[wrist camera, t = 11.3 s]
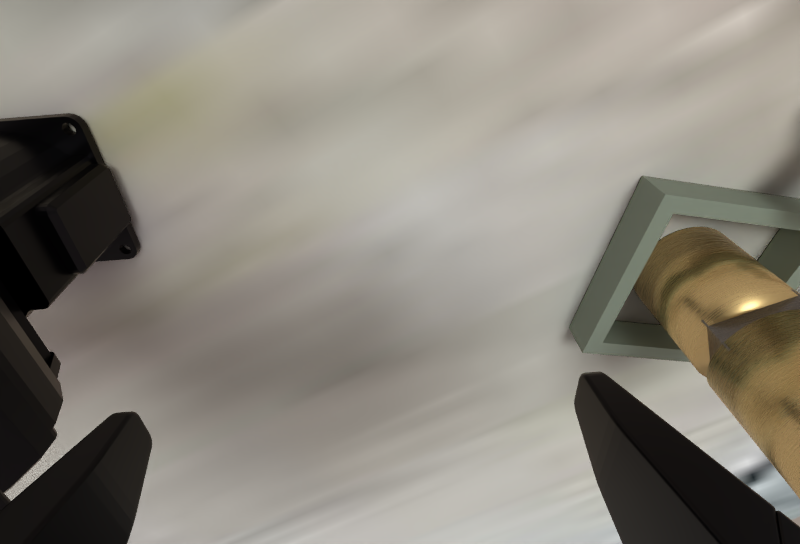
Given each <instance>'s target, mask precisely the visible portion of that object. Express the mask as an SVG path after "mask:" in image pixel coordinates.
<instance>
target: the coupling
mask: <svg viewBox="0 0 800 544" xmlns="http://www.w3.org/2000/svg"><path fill="white" fill-rule="evenodd" d="M633 287H634V290H635V292H636V294H637V295H638V297H639V298H640V299H641V300H642V302H643V303H644V304H645V305H646V307H647V308H648V309H649V310H650V312H651V313H652V314H653V315H654V317H655V318H656V319H657V320H658V322H659V323H660V324H661V325H662V327H663V328H664V329H665V330H666V332H667V333H668V334H669V335H670V337H671V338H672V339H673V340H674V342H675V343H676V344H677V345H678V347H679V348H680V349H681V350H682V352H683V353H684V354H685V355H686V357H687V358H688V359H689V360H690V362H691V363H692V364H693V365H694V367H695V368H696V369H697V370H698V372H699V373H701V374H702V375H703V376H705V377H707V381H708V383H709V385H710V387H711V388H712V389H713V391H714V392H715V393H716V394H717V396H718V397H719V398H720V399H721V401H722V402H723V403H724V404H725V406H726V407H727V408H728V409H729V411H730V412H731V413H732V414H733V416H734V417H735V418H736V419H737V421H738V422H739V423H740V424H741V426H742V427H743V428H744V429H745V431H746V432H747V433H748V434H749V436H750V437H751V438H752V439H753V441H754V442H755V443H756V444H757V446H758V447H759V448H760V449H761V451H762V452H763V453H764V454H765V456H766V457H767V458H768V459H769V461H770V462H771V463H772V464H773V466H774V467H775V468H776V469H777V471H778V472H779V473H780V474H781V476H782V477H783V478H784V479H785V481H786V482H787V483H788V484H789V486H790V487H791V488H792V489H793V491H794V492H795V493H796V495H797V496H798V497H799V498H800V294H799V293H798V292H797V291H795V290H794V289H793V288H791V287H790V286H789V285H788V284H786V283H785V282H784V281H782V280H781V279H780V278H779V277H777V276H776V275H775V274H773V273H772V272H771V271H770V270H768V269H767V268H766V267H764V266H763V265H762V264H761V263H759V262H758V261H757V260H755V259H754V258H753V257H752V256H750V255H749V254H748V253H746V252H745V251H744V250H743V249H741V248H740V247H739V246H738V245H736V244H735V243H734V242H732V241H731V240H730V239H729V238H727V237H726V236H725V235H723V234H722V233H721V232H719V231H717V230H715V229H712V228H708V227H691V228H686V229H682V230H679V231H676V232H674V233H672V234H669V235H668V236H666V237H664V238H662V239H661V240H659V241H658V242H657V244H656V246H655V248H654V250H653V252H652V253H651V255H650V257H649V259H648V261H647V263H646V264H645V266H644V268H643V270H642V272H641V274H640V275H639V277H638V279H637V281H636V283H635V284H634V286H633Z"/></svg>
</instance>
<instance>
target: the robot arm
mask: <svg viewBox="0 0 800 544" xmlns="http://www.w3.org/2000/svg"><path fill="white" fill-rule="evenodd" d="M67 123H70V124H72V125H73V126H74V127H75V129H76V132H73V131H71V130H70V129H69V128H68V125H67ZM130 221H131V217H130V215H129V213H128V211H127V208H126V206H125V204H124V202H123V199H122V197H121V195H120V192H119V190H118V188H117V186H116V183H115V181H114V179H113V177H112V174H111V172H110V170H109V168H108V167H107V166H105V165H104V162H103V160H102V158H101V156H100V153H99V151H98V149H97V147H96V144H95V142H94V140H93V138H92V135H91V133H90V131H89V129H88V126H87V124H86V123H85V121H84V120H83V119H82V118H80V117H79V116H77V115H75V114H69V113H68V114H55V115H42V116H30V117H17V118H5V119H0V544H127V542H128V539H129V536H130V533H131V530H132V527H133V524H134V520H135V516H136V513H137V508H138V504H139V500H140V496H141V491H142V487H143V483H144V478H145V474H146V470H147V465H148V461H149V457H150V453H151V448H152V439H151V436H150V434H149V432H148V430H147V428H146V427H145V425H144V423H143V422H142V420H141V418H140V417H139V415H138V414H137V413H135V412H132V411H131V412H120V413H114V414H112V415H111V416H109V417H108V418H107V419H106V420H104V421H103V422H102V423H101V424H100V425H99V426H97V427H96V428H95V429H94V430H93V431H92V432H91V433H89V434H88V435H87V436H86V437H85V438H84V439H83V440H81V441H80V442H79V443H78V444H77V445H76V446H74V447H73V448H72V449H71V450H70V451H69V452H68V453H66V454H65V455H64V456H63V457H62V458H61V459H59V460H58V461H57V462H56V463H55V464H54V465H53V466H51V467H50V468H49V469H48V470H47V471H46V472H44V473H43V474H42V475H41V476H40V477H39V478H38V479H36V480H35V481H34V482H33V483H32V484H31V485H29V486H28V487H27V488H26V489H25V490H24V491H23V492H21V493H20V494H19V495H18V496H17V497H16V498H14V499H13V500H12V501H11V500H10V499H9V498H8V497H7V496H6V495H5V494H4V493H5V492H7V491H8V490H9V489H11V488H12V487H13V486H14V485H15V484H16V483H17V482H18V481H19V480H20V479H21V478H22V477H23V476H24V475H25V474H26V473H27V472H28V471H29V470H30V469H31V468H32V467H33V466H34V465H35V464H36V463H37V462H38V461H39V460H40V459H41V458H42V456H43V455H44V453H45V452H46V451H47V449H48V448H49V447H50V445H51V444H52V443H53V441H54V440H55V439H56V436H57V432H56V430H55V429H54V425H55V423H56V421H57V418H58V415H59V412H60V409H61V406H62V403H63V396H62V391H61V385H60V382H59V381H58V379H57V377H58V373H59V369H60V365H61V363H60V361H59V360H58V358H57V357H56V355H55V354H54V353H53V352H49V351H48V349H47V348H46V346H45V345H44V343H43V342H42V340H41V339H40V337H39V336H38V334H37V333H36V331H35V330H34V328H33V327H32V325H31V324H30V323H29V321H28V320H27V317H28V316H29V315H30V314H31V313H32V311H33V310H38V309H46V308H48V307H49V306H50V305H51V304H52V303H53V302H54V301H55V299H56V298H57V297H58V296H59V295H60V294H61V293H62V292H63V291H64V290H65V288H66V287H67V286H68V285H69V284H70V283H71V282H72V281H73V280H74V279H75V277H76V276H77V275H78V274H82V273H85V272H86V271H87V270H88V269H89V268H90V267H91V266H92V265H93V263H94V262H97V261H109V260H121V259H131V258H134V257H135V256H136V255H137V254H138V252H139V251H140V243H139V241H138V239H137V237H136V234H135V232H134V230H133V228H132V225H131V223H130ZM123 245H127V246H129V247H130V249H131V250H129V249H126V248H125V247H124V246H123ZM574 405H575V411H576V414H577V418H578V421H579V424H580V428H581V431H582V434H583V438H584V441H585V444H586V448H587V451H588V455H589V458H590V461H591V465H592V468H593V471H594V474H595V477H596V480H597V483H598V486H599V488H600V491H601V494H602V496H603V498H604V501H605V503H606V505H607V508H608V510H609V513H610V515H611V517H612V520H613V522H614V524H615V527H616V529H617V532H618V534H619V536H620V539H621V541H622V543H623V544H800V527H799V526H798V525H797V524H796V523H794V522H793V521H792V520H790V519H789V518H788V517H787V516H785V515H784V514H783V513H782V512H780V511H776V510H775V508H774V506H772V505H771V504H770V503H769V502H767V501H766V500H765V499H764V498H762V497H761V496H760V495H758V494H757V493H756V492H755V491H753V490H752V489H751V488H750V487H748V486H747V485H746V484H744V483H743V482H742V481H741V480H739V479H738V478H737V477H736V476H734V475H733V474H732V473H730V472H729V471H728V470H727V469H725V468H724V467H723V466H722V465H720V464H719V463H718V462H716V461H715V460H714V459H713V458H711V457H710V456H709V455H708V454H706V453H705V452H704V451H703V450H701V449H700V448H699V447H697V446H696V445H695V444H694V443H692V442H691V441H690V440H689V439H687V438H686V437H685V436H683V435H682V434H681V433H680V432H678V431H677V430H676V429H675V428H673V427H672V426H671V425H669V424H668V423H667V422H666V421H664V420H663V419H662V418H661V417H659V416H658V415H657V414H655V413H654V412H653V411H652V410H650V409H649V408H648V407H647V406H645V405H644V404H643V403H642V402H640V401H639V400H638V399H636V398H635V397H634V396H633V395H631V394H630V393H629V392H628V391H626V390H625V389H624V388H622V387H621V386H620V385H619V384H617V383H616V382H615V381H614V380H612V379H611V378H610V377H608V376H607V375H606V374H604V373H602V372H590V373H583V374H582V375H581V376H580V378H579V382H578V386H577V391H576V395H575V400H574Z"/></svg>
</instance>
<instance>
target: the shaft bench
mask: <svg viewBox="0 0 800 544" xmlns="http://www.w3.org/2000/svg"><path fill="white" fill-rule="evenodd" d="M673 214H680V215H687V216H694V217H702V218H709V219H717V220H724V221H732V222H739V223H747V224H754V225H762V226H769V227H777V228H780V230H779V231H778V233H777V234H776V235H775V237H774V238H773V240H772V241H771V243H770V244H769V245H768V247H767V248H766V250H765V251H764V252H763V254H762V255H761V257H760V258H759V260H758V262H759V263H761V264H762V265H763V266H764V267H766V268H767V269H768V270H770V271H771V272H772V273H773V274H775V275H776V276H777V277H779V278H780V279H781V280H782V281H784V282H785V283H786V284H788V285H789V286H790V287H791V288H793V289H794V290H795V291H796V289H797V288H798V287H799V286H800V199H798V198H791V197H784V196H777V195H770V194H763V193H756V192H750V191H743V190H736V189H729V188H722V187H715V186H708V185H701V184H694V183H687V182H681V181H674V180H667V179H660V178H653V177H646V176H642V177H641V179H640V181H639V184H638V186H637V188H636V190H635V192H634V194H633V196H632V198H631V200H630V202H629V204H628V206H627V208H626V211H625V213H624V215H623V217H622V219H621V221H620V223H619V225H618V227H617V229H616V231H615V233H614V235H613V238H612V240H611V242H610V244H609V246H608V248H607V250H606V252H605V254H604V256H603V258H602V260H601V262H600V265H599V267H598V269H597V271H596V273H595V275H594V277H593V279H592V281H591V283H590V285H589V287H588V289H587V292H586V294H585V296H584V298H583V300H582V302H581V304H580V306H579V308H578V310H577V312H576V314H575V316H574V319H573V321H572V323H571V325H570V327H569V329H570V330H571V332H572V334H573V336H574V338H575V340H576V342H577V343H578V345H579V347H580V349H581V351H582V353H592V354H603V355H615V356H627V357H639V358H650V359H662V360H674V361H685V362H690V360H689V359H688V358H687V357H686V355H685V354H684V353H683V352H682V350H681V349H680V348H679V347H678V345H677V344H676V343H675V342H674V340H673V339H672V338H671V337H670V335H669V334H668V333H667V332H666V330H665V329H664V328H663V327H662V325H653V324H642V323H632V322H622V321H615V319H616V317H617V316H618V314H619V312H620V310H621V308H622V306H623V305H624V303H625V301H626V299H627V297H628V295H629V294H630V292H631V290H632V288H633V286H634V284H635V283H636V281H637V279H638V277H639V275H640V274H641V272H642V270H643V268H644V266H645V264H646V263H647V261H648V259H649V257H650V255H651V253H652V252H653V250H654V248H655V246H656V244H657V242H658V241H659V239H660V237H661V235H662V233H663V231H664V230H665V228H666V226H667V224H668V222H669V220H670V219H671V217H672V215H673Z"/></svg>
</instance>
